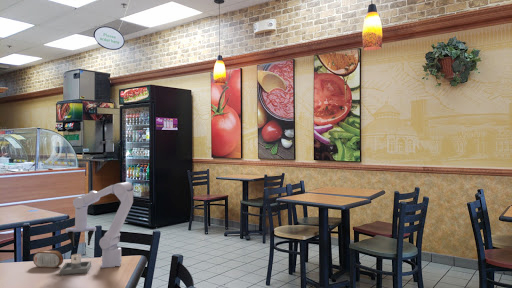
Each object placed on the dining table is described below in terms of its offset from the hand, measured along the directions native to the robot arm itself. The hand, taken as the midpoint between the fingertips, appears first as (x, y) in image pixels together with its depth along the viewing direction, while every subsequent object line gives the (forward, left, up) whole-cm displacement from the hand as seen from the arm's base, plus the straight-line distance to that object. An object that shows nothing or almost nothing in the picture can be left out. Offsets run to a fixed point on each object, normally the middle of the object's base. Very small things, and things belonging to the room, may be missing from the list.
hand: (80, 245), depth 202 cm
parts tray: (0, +12, -9) cm, 15 cm away
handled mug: (0, +12, -9) cm, 15 cm away
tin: (+15, +3, -10) cm, 18 cm away
